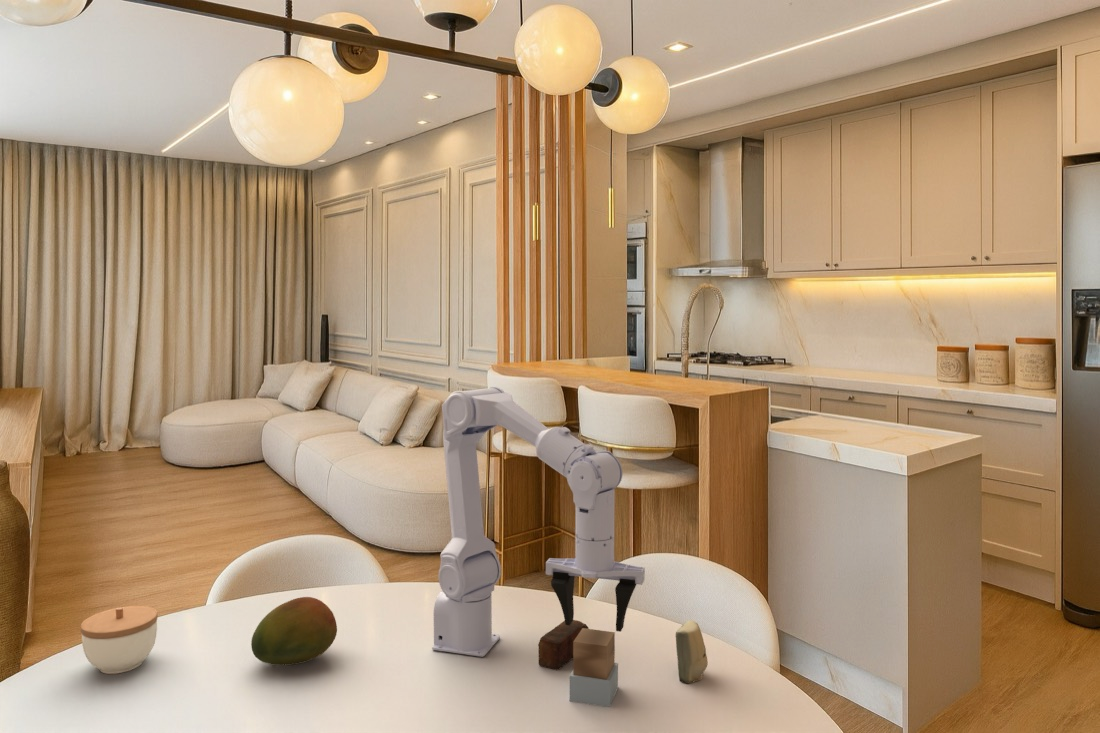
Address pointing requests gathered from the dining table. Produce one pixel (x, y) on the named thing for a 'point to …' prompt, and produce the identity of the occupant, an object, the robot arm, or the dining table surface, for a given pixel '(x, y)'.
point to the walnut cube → (594, 653)
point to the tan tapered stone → (690, 652)
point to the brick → (559, 644)
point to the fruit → (294, 632)
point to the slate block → (594, 688)
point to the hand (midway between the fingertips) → (594, 625)
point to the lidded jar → (119, 638)
